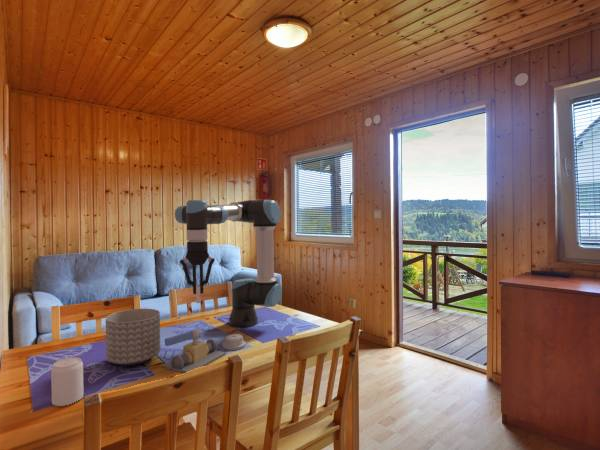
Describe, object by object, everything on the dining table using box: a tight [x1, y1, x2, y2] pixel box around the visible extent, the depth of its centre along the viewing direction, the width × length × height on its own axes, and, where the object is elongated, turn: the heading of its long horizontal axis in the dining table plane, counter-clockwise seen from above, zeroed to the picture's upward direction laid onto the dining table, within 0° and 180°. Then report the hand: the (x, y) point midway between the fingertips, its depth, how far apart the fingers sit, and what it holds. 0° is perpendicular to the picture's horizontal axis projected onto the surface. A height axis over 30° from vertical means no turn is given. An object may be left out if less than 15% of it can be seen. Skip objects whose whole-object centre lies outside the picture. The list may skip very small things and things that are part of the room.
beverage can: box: [50, 356, 84, 407], centre depth 107 cm, size 8×8×12 cm
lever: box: [164, 329, 200, 347], centre depth 133 cm, size 14×3×2 cm, turn 138°
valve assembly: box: [161, 338, 227, 374], centre depth 137 cm, size 20×14×9 cm
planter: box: [105, 308, 161, 366], centre depth 136 cm, size 19×19×18 cm
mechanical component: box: [222, 333, 247, 351], centre depth 152 cm, size 10×4×10 cm
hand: (198, 302), depth 134 cm, fingers closed
